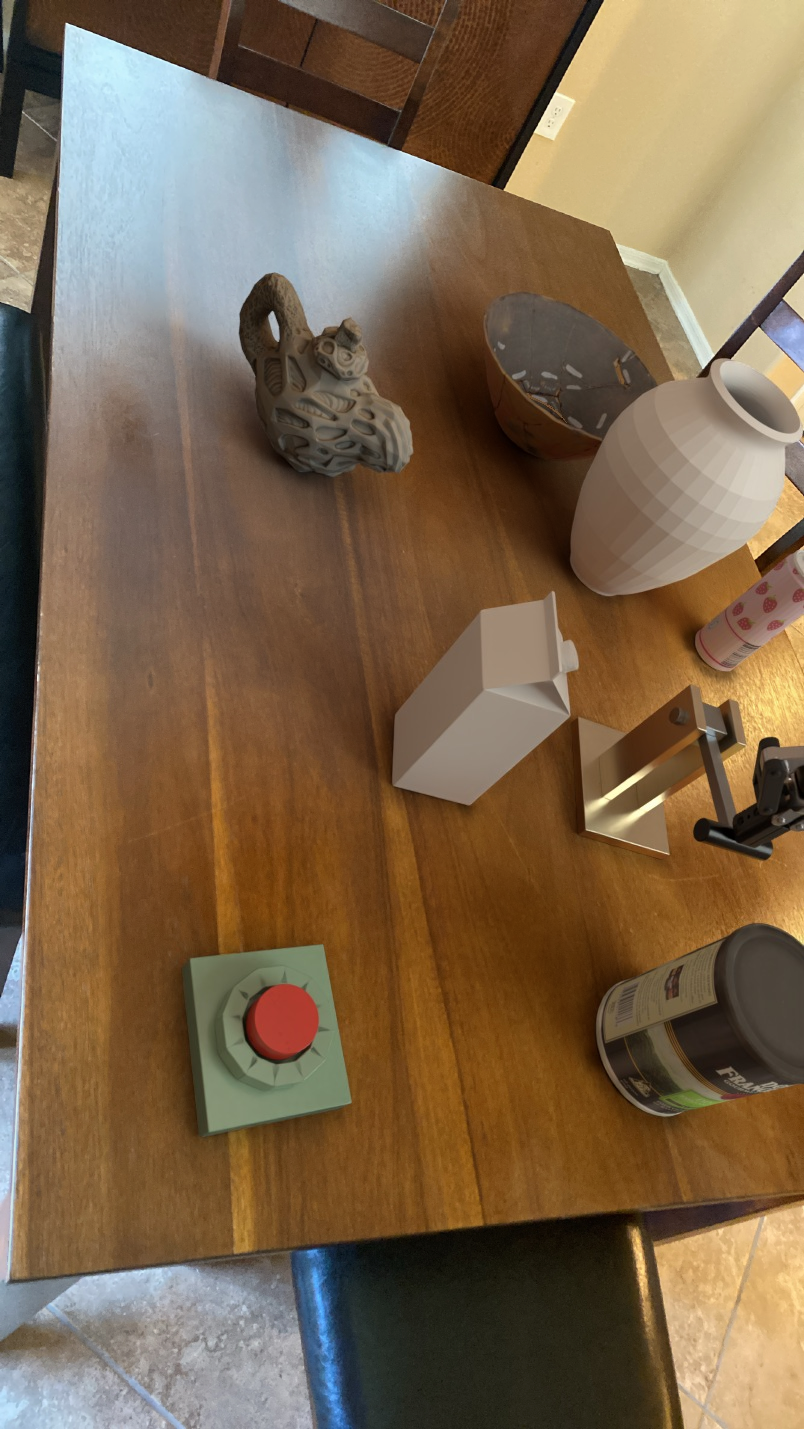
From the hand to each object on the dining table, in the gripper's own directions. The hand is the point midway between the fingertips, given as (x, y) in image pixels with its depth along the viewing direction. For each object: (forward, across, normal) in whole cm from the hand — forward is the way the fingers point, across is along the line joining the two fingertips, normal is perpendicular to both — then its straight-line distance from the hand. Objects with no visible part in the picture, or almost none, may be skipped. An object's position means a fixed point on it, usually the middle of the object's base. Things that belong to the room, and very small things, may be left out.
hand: (741, 834), depth 64 cm
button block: (+14, -30, -17) cm, 37 cm away
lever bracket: (+14, 0, +11) cm, 18 cm away
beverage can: (+14, +16, +34) cm, 40 cm away
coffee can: (+14, +1, -12) cm, 18 cm away
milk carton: (+14, -19, +8) cm, 25 cm away
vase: (+14, 0, +39) cm, 42 cm away
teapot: (+14, -36, +39) cm, 55 cm away
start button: (+10, -30, -17) cm, 36 cm away
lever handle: (+3, 0, +6) cm, 6 cm away
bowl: (+14, -8, +60) cm, 62 cm away
